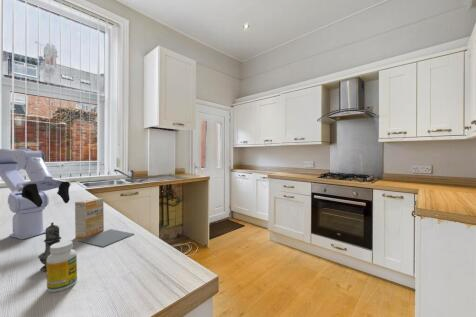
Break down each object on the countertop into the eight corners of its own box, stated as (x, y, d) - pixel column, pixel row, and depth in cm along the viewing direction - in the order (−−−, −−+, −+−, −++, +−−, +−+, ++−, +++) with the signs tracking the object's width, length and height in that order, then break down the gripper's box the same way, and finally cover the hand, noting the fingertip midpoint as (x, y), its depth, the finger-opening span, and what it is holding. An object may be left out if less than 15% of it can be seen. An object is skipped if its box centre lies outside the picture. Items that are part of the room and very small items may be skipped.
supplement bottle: (53, 281, 51) (52, 241, 50) (80, 276, 52) (79, 238, 52) (41, 295, 45) (40, 250, 45) (72, 289, 47) (71, 247, 47)
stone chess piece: (43, 274, 53) (41, 227, 53) (35, 268, 56) (33, 223, 56) (71, 264, 58) (70, 221, 58) (62, 259, 61) (61, 217, 61)
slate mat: (78, 241, 74) (78, 240, 74) (110, 229, 85) (110, 229, 85) (103, 247, 69) (103, 246, 69) (134, 234, 80) (134, 233, 80)
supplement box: (85, 238, 76) (85, 202, 76) (74, 237, 77) (74, 202, 77) (104, 230, 84) (104, 197, 84) (94, 229, 85) (93, 197, 85)
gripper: (16, 167, 69) (30, 197, 64) (67, 166, 82) (82, 192, 77) (8, 182, 70) (22, 213, 66) (60, 180, 84) (74, 205, 79)
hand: (54, 202), depth 72 cm, fingers open, 7 cm apart
